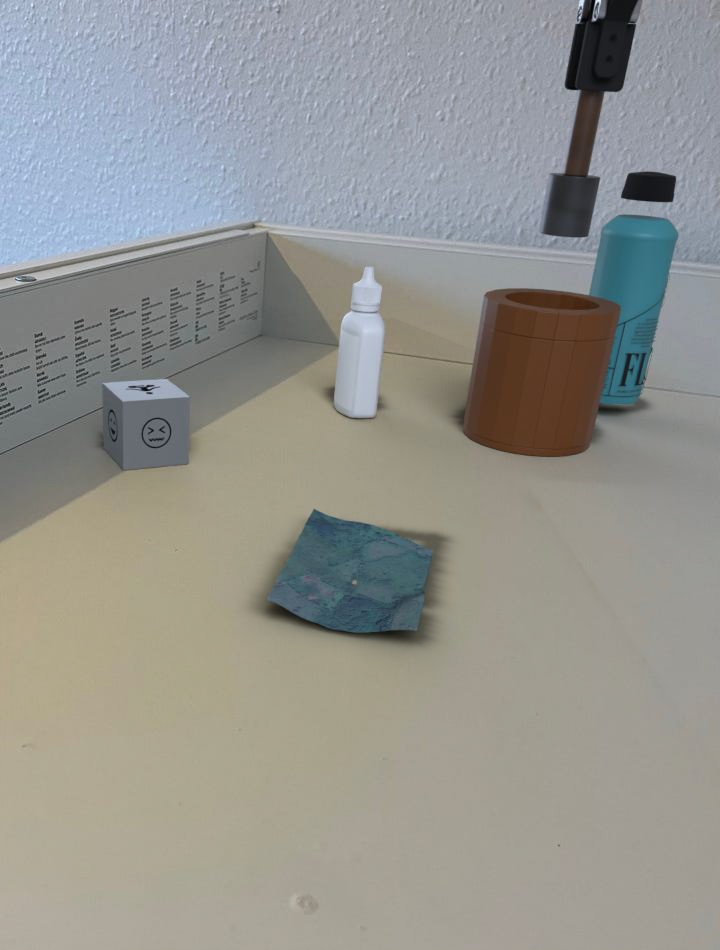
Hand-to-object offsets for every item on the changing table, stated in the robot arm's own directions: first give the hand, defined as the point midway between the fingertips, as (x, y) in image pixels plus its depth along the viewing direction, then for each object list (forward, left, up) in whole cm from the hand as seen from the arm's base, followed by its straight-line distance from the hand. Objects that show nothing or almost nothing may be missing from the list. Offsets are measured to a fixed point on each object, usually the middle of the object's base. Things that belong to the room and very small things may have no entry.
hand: (592, 88), depth 69 cm
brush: (0, 0, -10) cm, 10 cm away
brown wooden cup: (-1, -1, -26) cm, 26 cm away
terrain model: (+17, +30, -26) cm, 43 cm away
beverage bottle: (-10, -10, -26) cm, 29 cm away
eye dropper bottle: (+13, -6, -26) cm, 30 cm away
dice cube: (+30, +9, -26) cm, 41 cm away
